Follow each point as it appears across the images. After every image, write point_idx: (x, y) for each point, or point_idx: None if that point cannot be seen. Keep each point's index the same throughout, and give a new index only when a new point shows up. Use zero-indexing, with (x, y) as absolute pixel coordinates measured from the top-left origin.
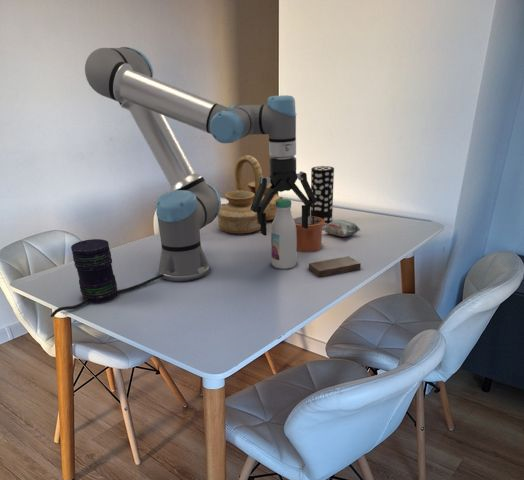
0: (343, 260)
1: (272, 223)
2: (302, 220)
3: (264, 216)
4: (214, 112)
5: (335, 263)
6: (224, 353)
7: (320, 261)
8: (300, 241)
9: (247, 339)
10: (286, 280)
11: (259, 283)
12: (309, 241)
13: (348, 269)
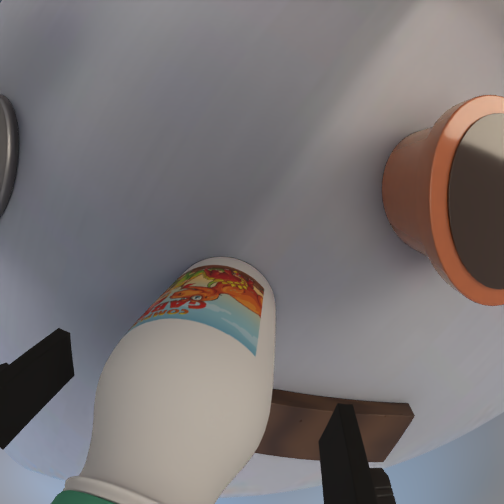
0: (372, 434)
1: (98, 383)
2: (339, 442)
3: (6, 433)
4: None
5: None
6: (19, 453)
7: (314, 411)
8: (403, 220)
9: (41, 460)
10: None
11: (89, 363)
12: (427, 255)
13: None
